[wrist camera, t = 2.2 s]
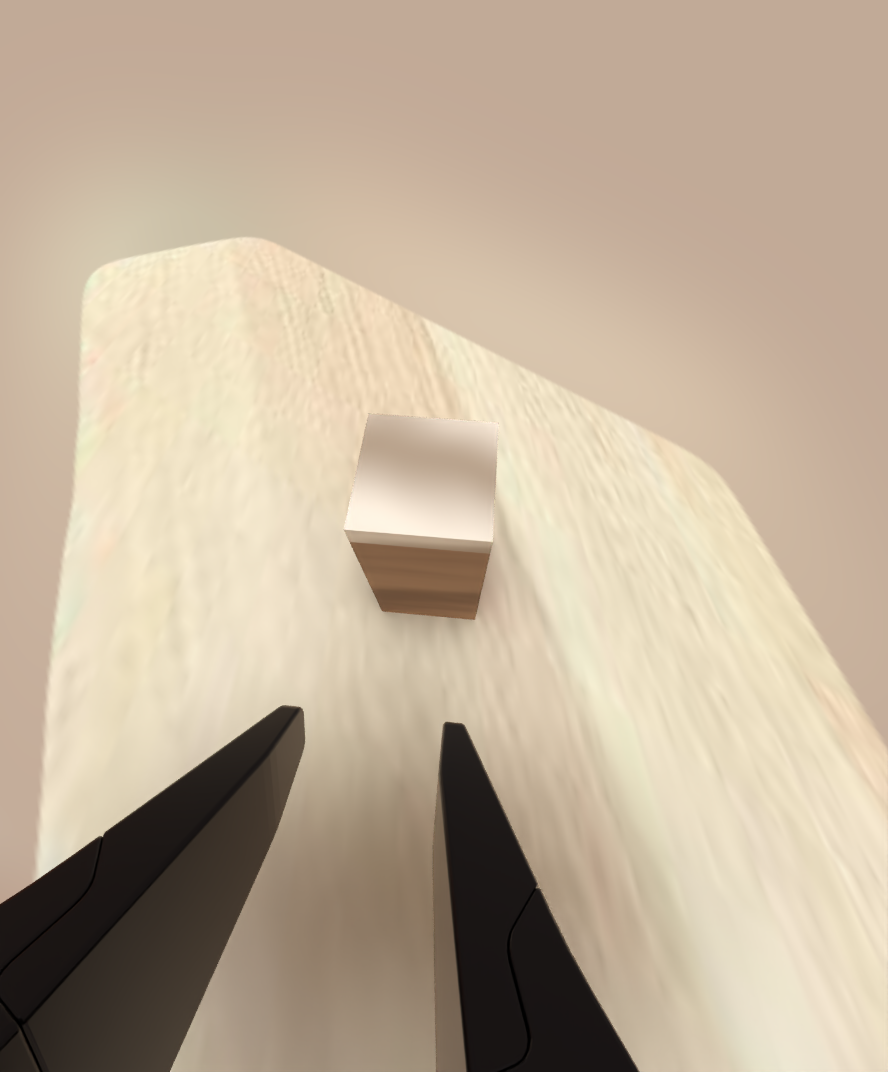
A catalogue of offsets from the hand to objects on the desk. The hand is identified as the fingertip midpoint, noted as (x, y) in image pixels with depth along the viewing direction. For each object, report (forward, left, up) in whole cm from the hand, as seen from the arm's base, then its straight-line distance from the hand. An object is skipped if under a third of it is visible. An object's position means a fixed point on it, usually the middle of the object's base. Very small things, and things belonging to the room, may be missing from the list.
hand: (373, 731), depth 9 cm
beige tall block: (+1, +8, -14) cm, 16 cm away
